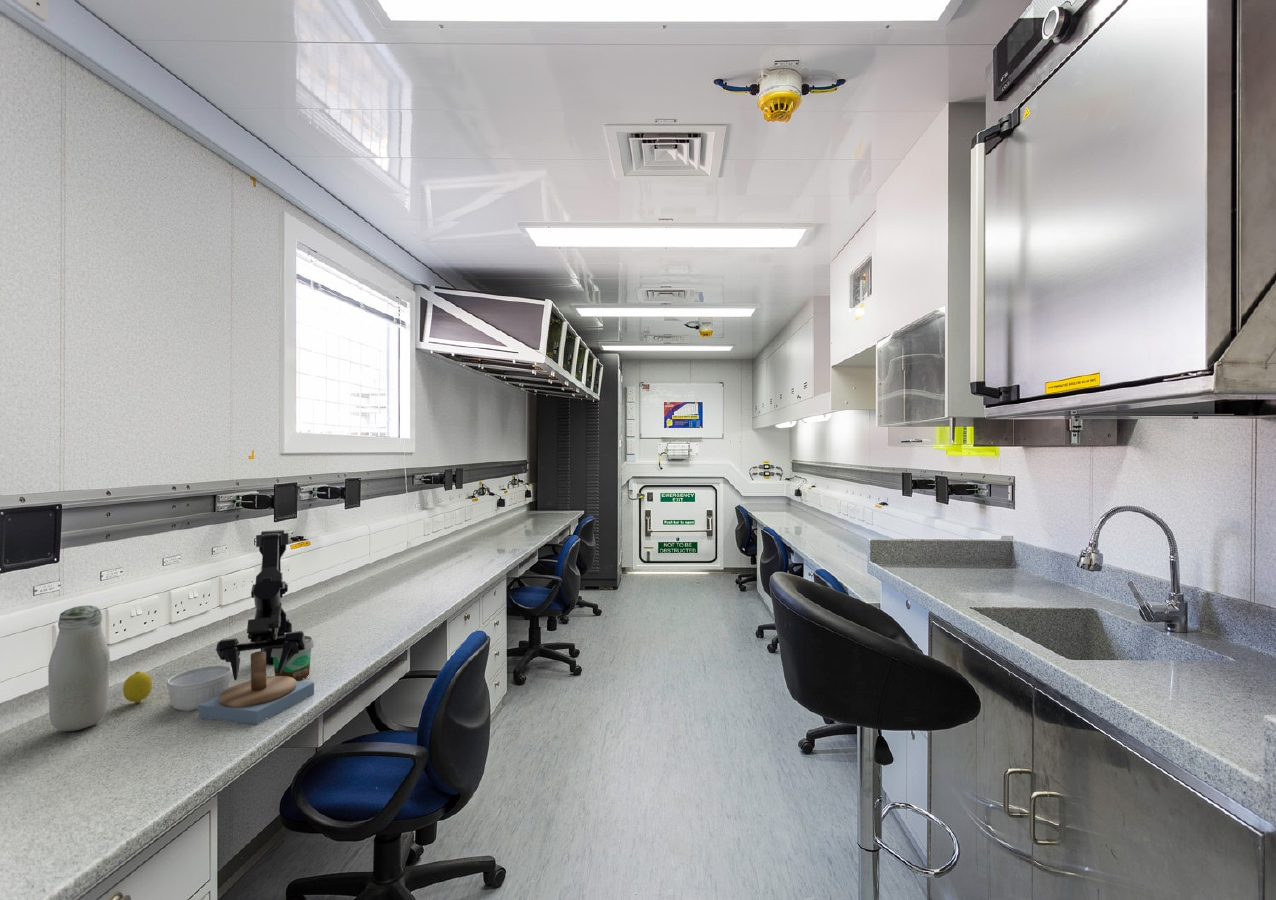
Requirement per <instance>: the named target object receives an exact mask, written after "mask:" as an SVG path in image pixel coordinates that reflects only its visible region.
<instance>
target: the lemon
mask: <svg viewBox="0 0 1276 900" xmlns="http://www.w3.org/2000/svg"><path fill="white" fill-rule="evenodd" d="M152 689H153V681H152V677H151V676H150V675H149V674H148V673H146V672H141V671H139V670H138V671H136V672H134V673H132V674H131V675H130V676H128V677H127V679H125V681H124V684H123V688H122V692H123V696H124V698H125V699H126V700H127V701H129V702H134V703H135V704H139V703H141V701H142V700H144V699H145V698H147V697H148V696H149V695H150V693H151V691H152Z"/></svg>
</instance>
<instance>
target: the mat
mask: <svg viewBox="0 0 1276 900" xmlns="http://www.w3.org/2000/svg"><path fill="white" fill-rule="evenodd" d="M309 695H311V696H313V695H315V682H313V681H303V680H300V681H296V688H295V690H294V691H293V692H291V693H290V694H288V695H286V696H284V697H282V698H280V699H277V700H275V701H272V702H268V703H264V704H260V705H255V706H249V707H239V708H232V707H225V706H222V705H221V704H220V703H219V696H218V697H216V698H213V699H211V700H209V701H207V702H204V703H202V704H200V705H199V709H198V718H199V719H206V718H208V720H215V719H218V720H217V721H223V720H225V721H224V722H232V721H233V723H234V721H235V723H241V722H243V723H242V724H250V723H253V725H259V724H260V722H261V723H262V721H263V720H265V719H266V718H268V719H270V718H272V717H274V716H275V715H274V714H276V713H278V714H279V712H280V713H281V712H283V711H285V710H287V709H289V708H290V707H292V705H293V706H295V705H296V704H298V703H300V702H302V701H303V699H304V700H306V699H307V698H306V697H308V696H309ZM309 697H310V696H309ZM309 697H308V698H309ZM305 698H306V699H305ZM299 701H300V702H299ZM297 702H298V703H297ZM288 707H289V708H288ZM286 708H287V709H286ZM273 715H274V716H273ZM276 715H277V714H276ZM271 716H272V717H271ZM269 717H270V718H269ZM266 720H267V719H266ZM266 720H265V721H266ZM263 722H264V721H263ZM258 723H259V724H258Z"/></svg>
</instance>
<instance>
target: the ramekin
mask: <svg viewBox="0 0 1276 900" xmlns="http://www.w3.org/2000/svg"><path fill="white" fill-rule="evenodd" d="M232 676H233V672H232V667H231V665H230V666H229V665H225V664H212V665H205V666H200V667H195V668H191V669H188V670H183V671H181V672H179V673H176V674H174V675H172V676H170V677H169V678H168V680H166V681H167V683H166V688H167V689H168V695H169V702H170V704H171V707H172V708H173V709H175V710H177V709H178V710H177V711H193V709H195V710H199V705H200V704H202V703H204V702H207V701H209V700H211V699H213V698H216V697H218V696H220V694H221V693H222V692H223V691H224V690H226V689H228V688H230V687H231V679H232V678H231V677H232Z"/></svg>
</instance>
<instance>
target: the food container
mask: <svg viewBox="0 0 1276 900" xmlns="http://www.w3.org/2000/svg"><path fill="white" fill-rule="evenodd" d="M304 636H305V642H306V644H305V649H304V650H301V651H299V653H297V654H294V655H293V657H292V658H291V659H290V660H289V662H288V663H287V664H286V666H285V668H284V669H283V671H282V672H281V674H280V675H278V666H279V662H280V658H281V654H282V650H283V648H281V649H272V652H271V657H273V662H274V664H273V672H274V676H288V677H292V678H294V679H295V680H296V681H299V680H300V681H303V680H304V679H303V678H305V679H306V677H307V676H308V675H309V676H310V669H311V659H312V658H311V656H312V655H311V654H312V649H313V648H314V647H315V644H314V639H312V636H309V635H304ZM309 676H308V677H309ZM308 677H307V678H308ZM302 679H303V680H302Z"/></svg>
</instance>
